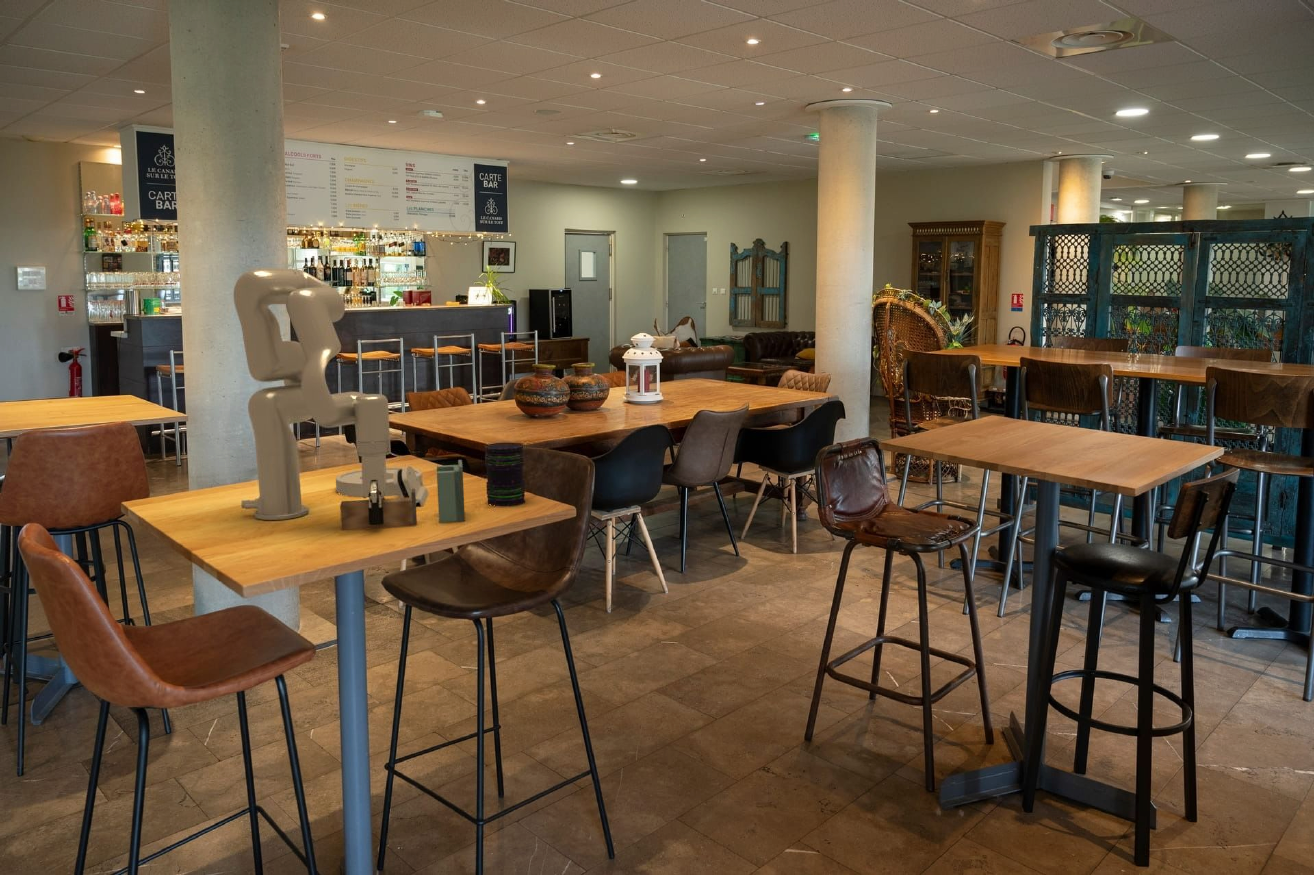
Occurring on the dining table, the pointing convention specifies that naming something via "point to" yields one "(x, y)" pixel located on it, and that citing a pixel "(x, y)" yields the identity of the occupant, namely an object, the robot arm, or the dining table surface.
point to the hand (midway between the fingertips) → (377, 519)
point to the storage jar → (505, 474)
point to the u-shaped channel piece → (450, 493)
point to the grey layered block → (409, 485)
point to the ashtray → (353, 482)
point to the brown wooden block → (393, 513)
